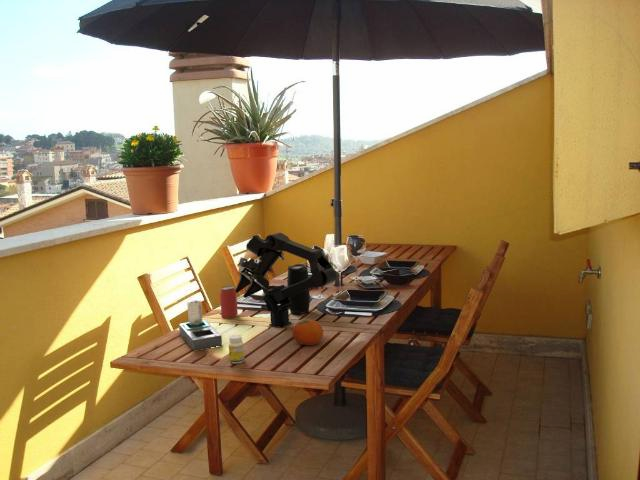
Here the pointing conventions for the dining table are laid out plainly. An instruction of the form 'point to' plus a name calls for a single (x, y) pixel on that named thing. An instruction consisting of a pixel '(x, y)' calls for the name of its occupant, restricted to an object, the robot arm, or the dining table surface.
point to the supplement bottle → (236, 349)
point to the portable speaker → (303, 298)
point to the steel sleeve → (195, 313)
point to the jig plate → (200, 336)
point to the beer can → (228, 302)
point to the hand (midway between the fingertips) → (239, 294)
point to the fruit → (307, 332)
